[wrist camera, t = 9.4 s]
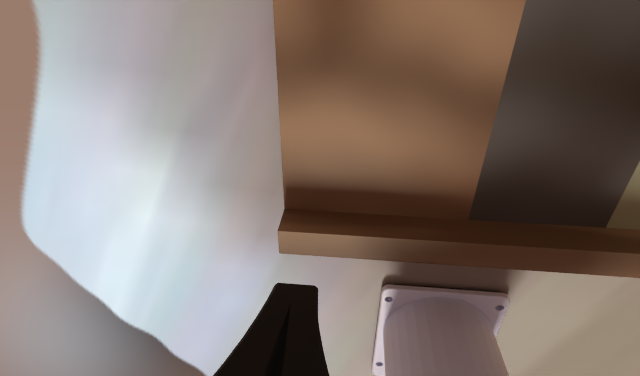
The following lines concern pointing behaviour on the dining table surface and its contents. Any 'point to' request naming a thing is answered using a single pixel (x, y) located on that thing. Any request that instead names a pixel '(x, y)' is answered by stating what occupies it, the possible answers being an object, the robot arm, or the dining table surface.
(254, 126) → the dining table surface
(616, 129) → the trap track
